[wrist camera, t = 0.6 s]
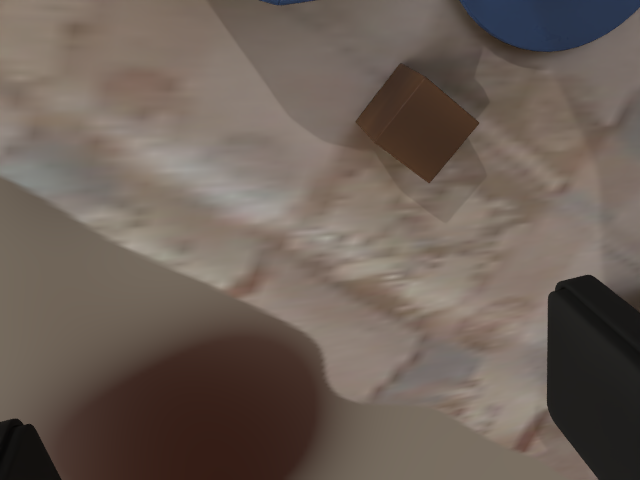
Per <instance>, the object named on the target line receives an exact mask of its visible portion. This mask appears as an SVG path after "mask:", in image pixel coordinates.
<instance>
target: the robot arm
mask: <svg viewBox="0 0 640 480" xmlns="http://www.w3.org/2000/svg"><path fill="white" fill-rule="evenodd" d="M547 406H548V410H549V413H550V415H551V417H552V419H553V421H554V422H555V424H556V425H557V427H558V428H559V429H560V430H561V432H562V433H563V434H564V436H565V437H566V438H567V439H568V441H569V442H570V443H571V445H572V446H573V447H574V448H575V450H576V451H577V452H578V454H579V455H580V456H581V457H582V459H583V460H584V461H585V463H586V464H587V465H588V466H589V468H590V469H591V470H592V472H593V473H594V474H595V476H596V477H597V478H598V479H599V480H640V313H639V312H638V311H637V310H636V309H634V308H633V307H632V306H631V305H629V304H628V303H627V302H626V301H624V300H623V299H622V298H620V297H619V296H618V295H617V294H615V293H614V292H613V291H612V290H610V289H609V288H608V287H607V286H605V285H604V284H603V283H602V282H600V281H599V280H598V279H596V278H595V277H593V276H592V275H584V276H580V277H576V278H572V279H568V280H564V281H560V282H559V283H557V285H556V287H555V291H553V292H551V293H550V294H549V296H548V352H547ZM0 480H61V478H60V476H59V474H58V472H57V470H56V468H55V466H54V464H53V462H52V461H51V458H50V456H49V455H48V453H47V451H46V449H45V447H44V445H43V443H42V441H41V439H40V437H39V435H38V433H37V431H36V429H35V428H34V426H33V425H31V424H26V425H23V423H22V422H21V421H20V420H19V419H10V420H6V421H3V422H0Z"/></svg>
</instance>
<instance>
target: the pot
mask: <svg viewBox="0 0 640 480" xmlns="http://www.w3.org/2000/svg"><path fill="white" fill-rule="evenodd" d="M260 1H263V2H267V3H271V4H274V5H281V6H282V5H288V4H295V3H302V2H308V1H315V0H260Z"/></svg>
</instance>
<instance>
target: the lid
mask: <svg viewBox="0 0 640 480" xmlns="http://www.w3.org/2000/svg"><path fill="white" fill-rule="evenodd" d="M459 1H460V2H461V4H462V5H463V7H464V8H465V10H466V11H467V13H468V14H469V15H470V16H471V17H472V18H473V20H474V21H475V22H476V23H477V24H478V25H479V26H480V27H481V28H483V29H484V30H485V31H486V32H488V33H489V34H490V35H492V36H493V37H495V38H497V39H499V40H500V41H502V42H504V43H507V44H509V45H512V46H515V47H518V48H522V49H526V50H531V51H542V52H552V51H562V50H567V49H571V48H575V47H579V46H581V45H584V44H587V43H589V42H592V41H594V40H596V39H598V38H600V37H602V36H603V35H605V34H607V33H609V32H610V31H612V30H613V29H615V28H616V27H617V26H619V25H620V24H622V23H623V22H624V21H625V20H626V19H628V18H629V17H630V16H631V15H632V14H633V13H635V11H636V10H637V9H638V8H639V7H640V0H459Z"/></svg>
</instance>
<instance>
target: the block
mask: <svg viewBox="0 0 640 480" xmlns="http://www.w3.org/2000/svg"><path fill="white" fill-rule="evenodd" d="M356 123H357V124H358V125H359V126H360V127H361V128H362V129H363V130H364V132H365V133H366V134H367V135H368V136H369V137H370V138H371V139H372V140H373V141H374V142H375V143H376V144H377V145H379V146H380V147H381V148H383V149H384V150H385V151H387V152H388V153H389V154H391V155H392V156H393V157H395V158H396V159H397V160H399V161H400V162H401V163H403V164H404V165H405V166H407V167H408V168H409V169H411V170H412V171H413V172H415V173H416V174H417V175H419V176H420V177H421V178H423V179H424V180H425V181H427V182H428V183H430V182H431V181H432V180H433V178H434V177H435V176H436V175H437V174H438V172H439V171H440V170H441V169H442V168H443V166H444V165H445V164H446V163H447V162H448V160H449V159H450V158H451V157H452V156H453V154H454V153H455V152H456V151H457V150H458V148H459V147H460V146H461V145H462V144H463V142H464V141H465V140H466V139H467V137H468V136H469V135H470V134H471V133H472V131H473V130H474V129H475V128H476V127H477V125H478V124H479V122H478V121H477V120H476V119H475V118H473V117H472V116H471V115H470V114H469V113H468V112H466V111H465V110H464V109H463V108H462V107H461V106H459V105H458V104H457V103H456V102H455V101H453V100H452V99H451V98H450V97H449V96H448V95H446V94H445V93H444V92H443V91H442V90H441V89H439V88H438V87H437V86H436V85H435V84H434V83H432V82H431V81H430V80H429V79H428V78H426V77H425V76H423V75H421V74H420V73H418V72H416V71H414V70H412V69H410V68H409V67H407V66H405V65H403V64H400V65H399V66H398V67H397V68H396V70H395V71H394V72H393V74H392V75H391V76H390V78H389V79H388V80H387V81H386V83H385V84H384V85H383V87H382V88H381V89H380V91H379V92H378V93H377V95H376V96H375V97H374V98H373V100H372V101H371V102H370V104H369V105H368V106H367V108H366V109H365V110H364V111H363V113H362V114H361V115H360V117H359V118H358V119H357V121H356Z"/></svg>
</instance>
